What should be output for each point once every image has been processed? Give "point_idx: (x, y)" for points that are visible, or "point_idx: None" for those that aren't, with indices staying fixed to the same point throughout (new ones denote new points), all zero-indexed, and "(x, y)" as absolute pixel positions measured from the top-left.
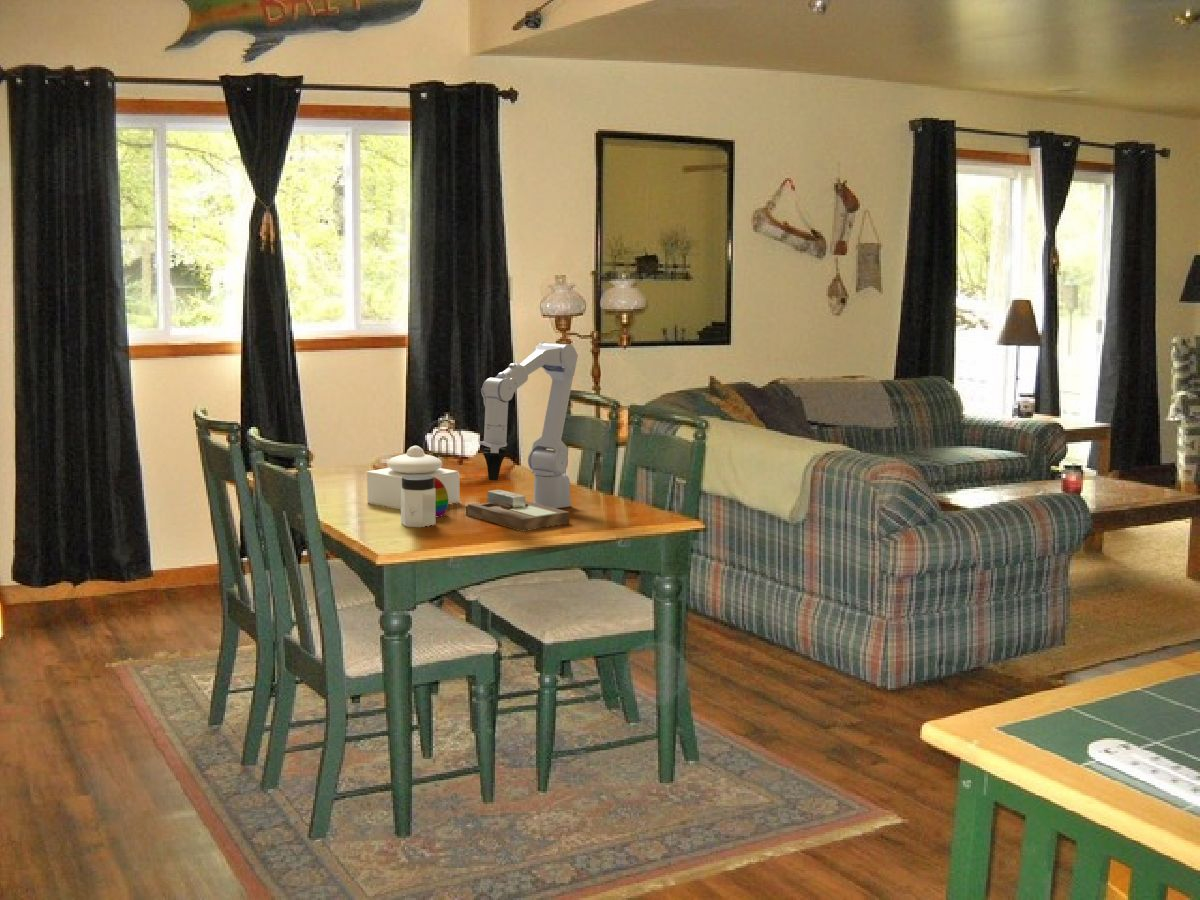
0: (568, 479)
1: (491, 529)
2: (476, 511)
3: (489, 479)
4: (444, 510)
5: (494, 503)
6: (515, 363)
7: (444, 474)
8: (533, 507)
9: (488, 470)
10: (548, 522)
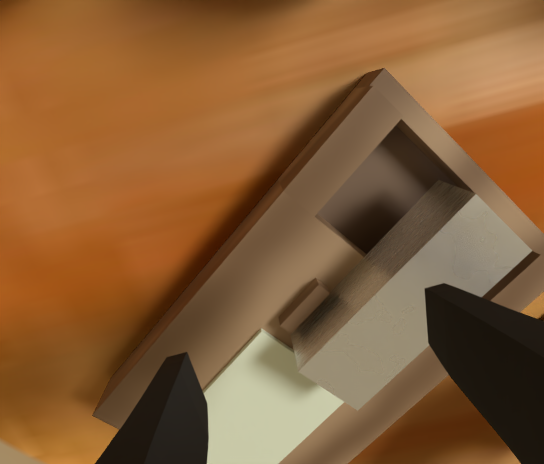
0: None
1: (96, 267)
2: (310, 149)
3: (162, 364)
4: None
5: (394, 229)
6: None
7: None
8: (325, 406)
9: (124, 432)
10: None
